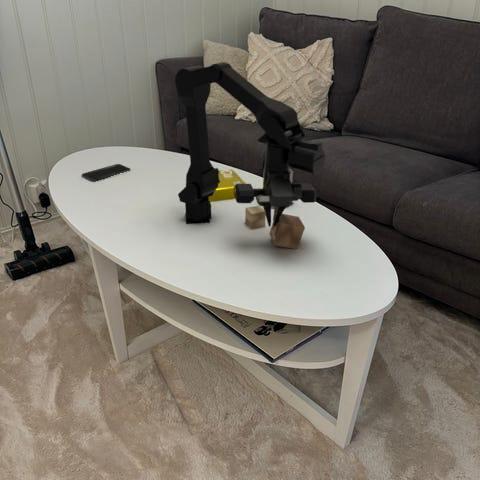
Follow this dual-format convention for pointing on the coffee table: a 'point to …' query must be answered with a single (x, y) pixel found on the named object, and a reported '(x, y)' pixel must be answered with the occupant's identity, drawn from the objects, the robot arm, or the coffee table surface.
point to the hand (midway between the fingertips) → (271, 225)
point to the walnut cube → (287, 231)
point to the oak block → (255, 217)
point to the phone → (105, 172)
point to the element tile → (226, 186)
